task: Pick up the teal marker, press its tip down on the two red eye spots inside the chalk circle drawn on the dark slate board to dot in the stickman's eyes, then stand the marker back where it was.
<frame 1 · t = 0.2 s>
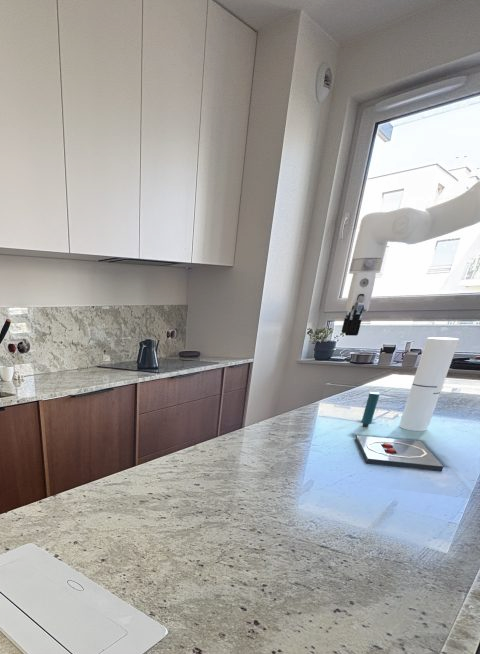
hand: (349, 334, 124), 26 cm above the countertop, tool pointing down, fingers open, 9 cm apart
cylindrical container: (412, 428, 127), on the countertop
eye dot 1: (386, 446, 108), point 1 cm above the countertop, slide at 0.0 cm
marker: (365, 426, 129), on the countertop
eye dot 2: (390, 451, 105), point 1 cm above the countertop, slide at 0.0 cm
slate board: (394, 453, 106), on the countertop
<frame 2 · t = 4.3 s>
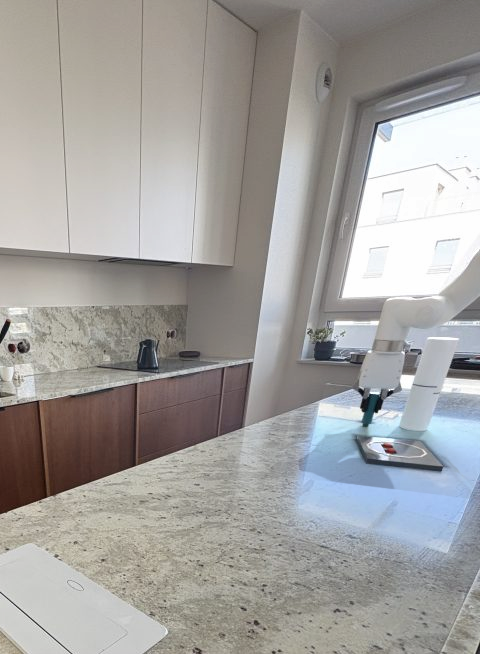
hand: (369, 411, 127), 5 cm above the countertop, tool pointing down, fingers closed on marker, 2 cm apart
marker: (365, 426, 129), on the countertop, touching gripper
everything else where it was.
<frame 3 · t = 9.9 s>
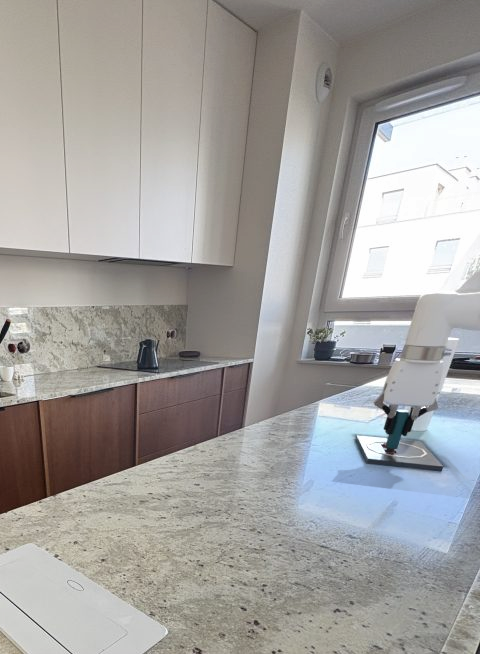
hand: (395, 433, 102), 6 cm above the countertop, tool pointing down, fingers closed on marker, 2 cm apart
marker: (389, 451, 105), point 1 cm above the countertop, touching gripper, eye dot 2
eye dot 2: (389, 453, 105), point 1 cm above the countertop, slide at -0.5 cm, touching marker
everything else where it was.
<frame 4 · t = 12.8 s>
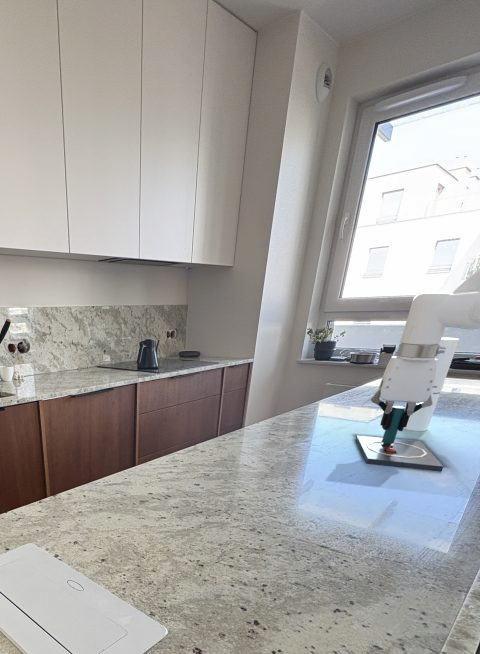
hand: (391, 428, 106), 6 cm above the countertop, tool pointing down, fingers closed on marker, 2 cm apart
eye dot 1: (386, 448, 108), point 1 cm above the countertop, slide at -0.5 cm, touching marker
marker: (386, 446, 108), point 1 cm above the countertop, touching gripper, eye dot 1
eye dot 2: (390, 452, 105), point 1 cm above the countertop, slide at -0.1 cm
everything else where it was.
when the fingers open (5 cm above the countertop, at t = 19.9 s): marker stays where it is, on the countertop.
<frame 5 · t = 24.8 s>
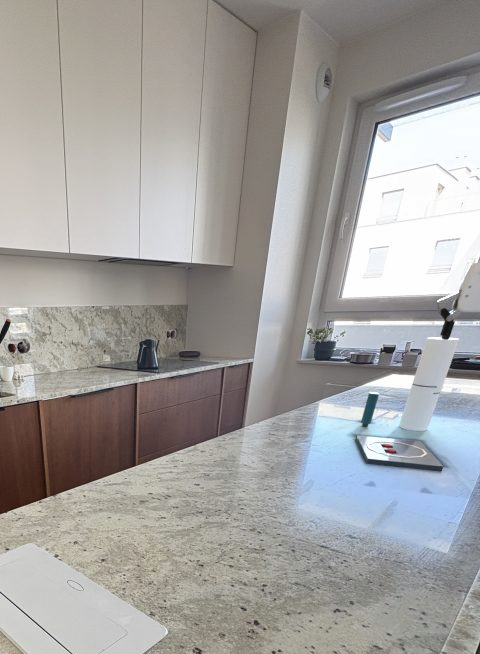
hand: (469, 339, 99), 26 cm above the countertop, tool pointing down, fingers open, 9 cm apart
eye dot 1: (386, 447, 108), point 1 cm above the countertop, slide at -0.1 cm
marker: (364, 426, 129), on the countertop
everything else where it was.
at the end: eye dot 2 pushed in 0.5 cm at the most during the clip, back to where it started at the end; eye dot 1 pushed in 0.5 cm at the most during the clip, back to where it started at the end; marker inside the target area (0.1 cm from its centre), on the countertop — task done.
